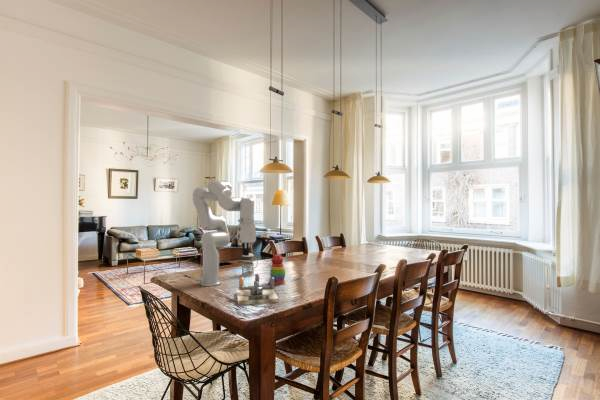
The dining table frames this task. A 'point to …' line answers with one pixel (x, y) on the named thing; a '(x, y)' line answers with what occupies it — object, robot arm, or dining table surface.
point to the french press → (248, 273)
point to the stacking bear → (277, 270)
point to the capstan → (256, 286)
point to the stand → (256, 297)
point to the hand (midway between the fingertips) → (245, 255)
